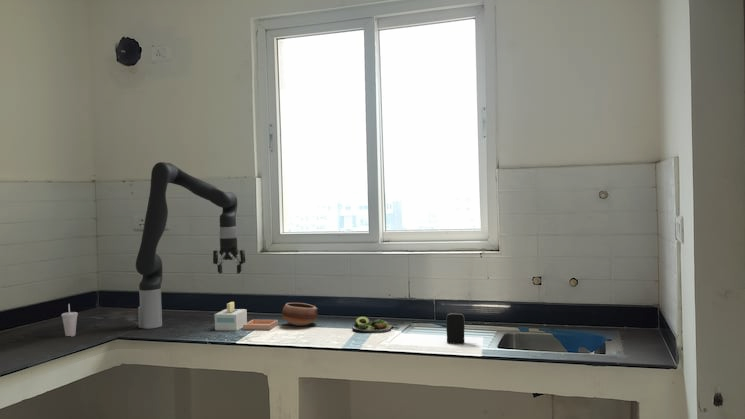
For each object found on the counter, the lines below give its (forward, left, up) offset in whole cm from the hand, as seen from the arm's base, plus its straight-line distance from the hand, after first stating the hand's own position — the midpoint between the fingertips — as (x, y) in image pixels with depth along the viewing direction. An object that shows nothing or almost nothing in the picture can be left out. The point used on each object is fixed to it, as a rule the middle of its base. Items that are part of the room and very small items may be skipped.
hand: (229, 273), depth 269 cm
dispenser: (0, 0, -24) cm, 24 cm away
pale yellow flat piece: (0, 0, -22) cm, 22 cm away
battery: (+100, -20, -24) cm, 105 cm away
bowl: (+30, +6, -25) cm, 39 cm away
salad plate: (+63, +2, -25) cm, 68 cm away
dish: (+13, +1, -24) cm, 28 cm away
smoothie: (-65, -20, -24) cm, 72 cm away
